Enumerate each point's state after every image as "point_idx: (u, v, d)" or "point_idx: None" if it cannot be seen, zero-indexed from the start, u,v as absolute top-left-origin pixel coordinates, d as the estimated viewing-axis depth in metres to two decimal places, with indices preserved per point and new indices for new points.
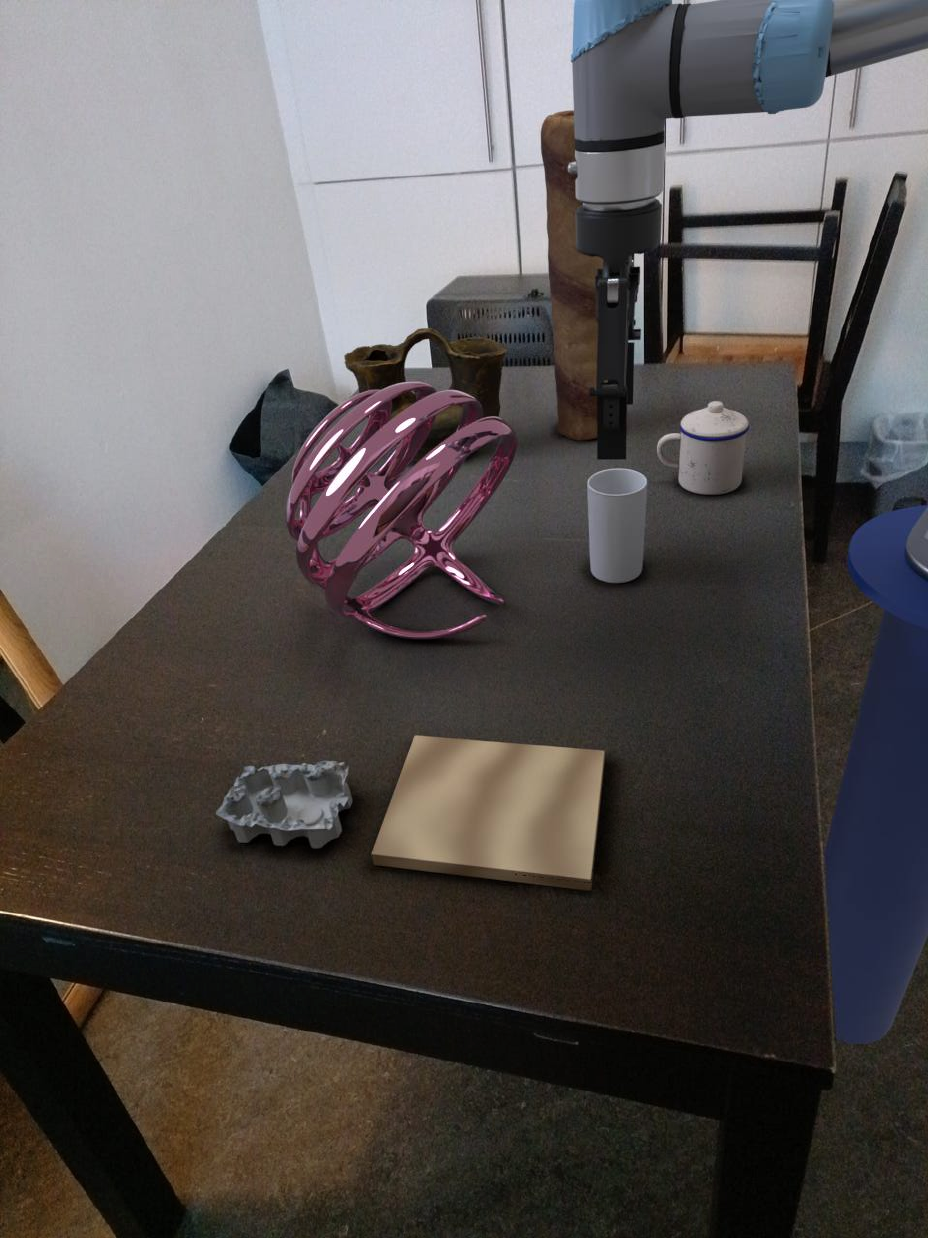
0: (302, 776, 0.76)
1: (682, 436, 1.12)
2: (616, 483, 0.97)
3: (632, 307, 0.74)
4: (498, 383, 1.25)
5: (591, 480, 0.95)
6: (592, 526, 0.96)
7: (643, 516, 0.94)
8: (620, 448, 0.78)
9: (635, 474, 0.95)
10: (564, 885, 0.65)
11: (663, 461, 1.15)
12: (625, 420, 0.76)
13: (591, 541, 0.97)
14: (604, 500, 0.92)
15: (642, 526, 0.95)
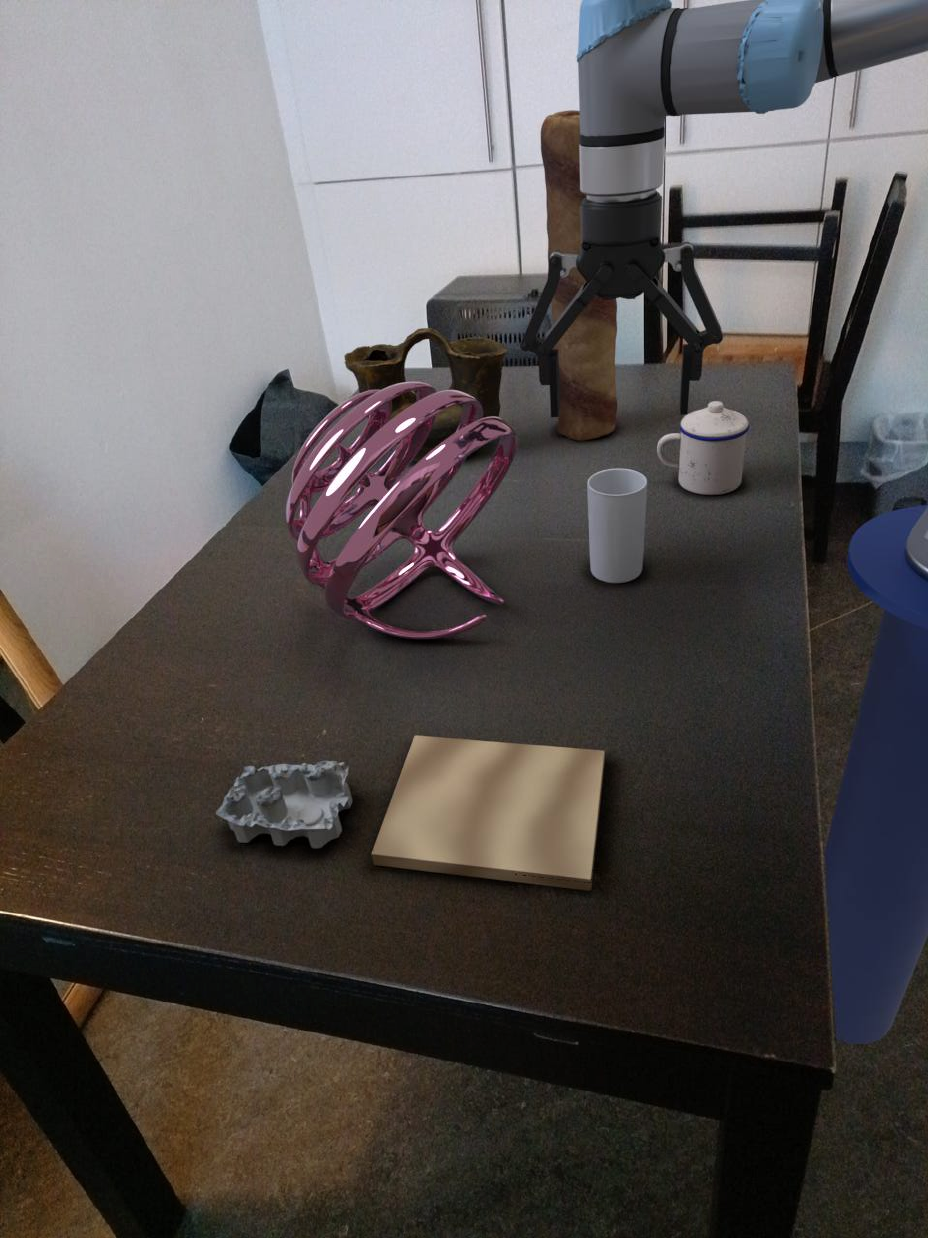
0: (302, 776, 0.76)
1: (682, 436, 1.12)
2: (616, 483, 0.97)
3: (582, 290, 0.81)
4: (498, 383, 1.25)
5: (591, 480, 0.95)
6: (592, 526, 0.96)
7: (643, 516, 0.94)
8: None
9: (635, 474, 0.95)
10: (564, 885, 0.65)
11: (663, 461, 1.15)
12: (549, 381, 0.87)
13: (591, 541, 0.97)
14: (604, 500, 0.92)
15: (642, 526, 0.95)
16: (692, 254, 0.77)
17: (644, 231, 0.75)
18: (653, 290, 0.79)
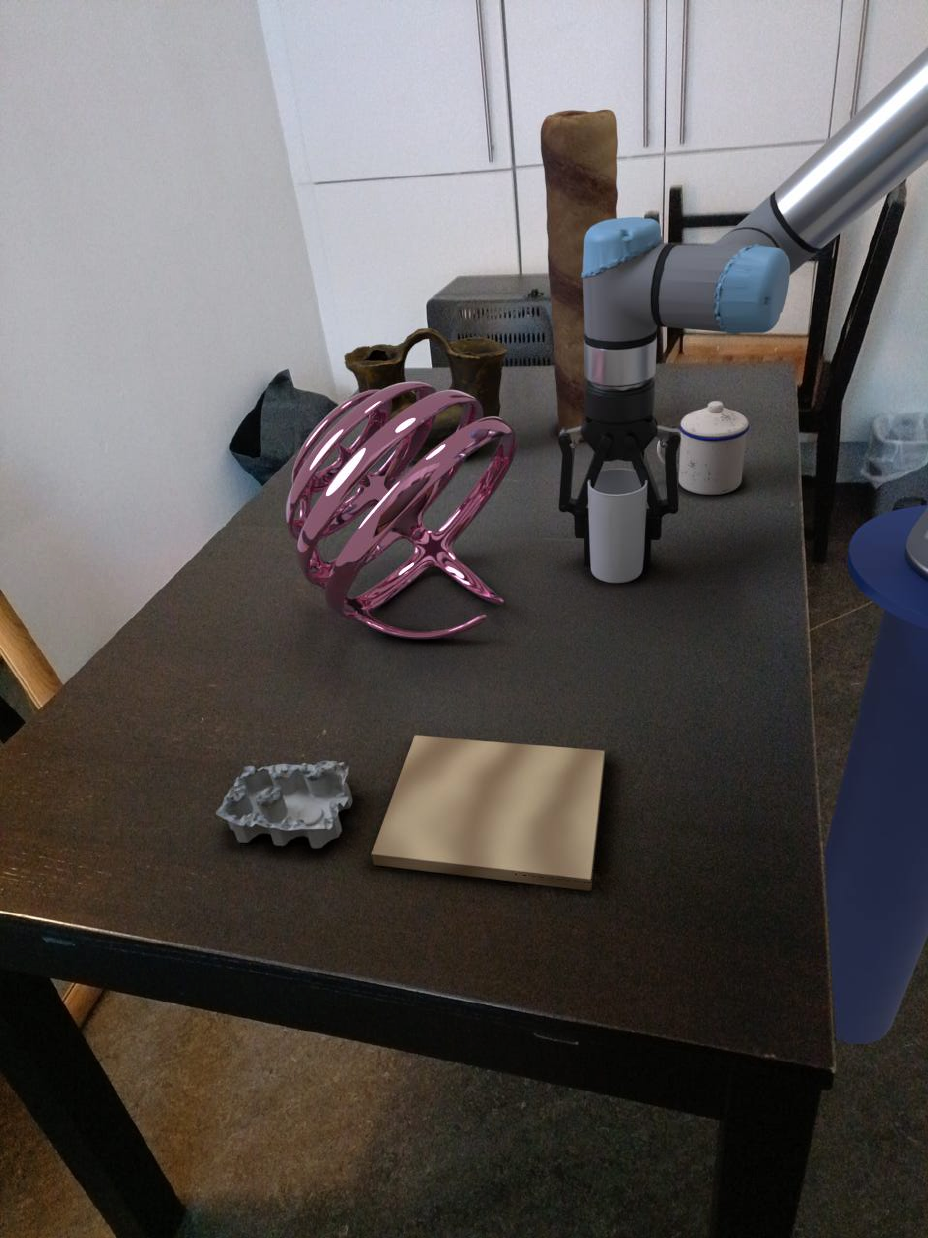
0: (302, 776, 0.76)
1: (682, 436, 1.12)
2: (616, 483, 0.97)
3: (593, 460, 0.93)
4: (498, 383, 1.25)
5: None
6: (593, 526, 0.96)
7: (643, 516, 0.94)
8: (584, 554, 1.01)
9: (635, 474, 0.95)
10: (564, 885, 0.65)
11: (663, 461, 1.15)
12: (584, 536, 0.99)
13: (591, 541, 0.97)
14: (604, 500, 0.92)
15: (642, 526, 0.95)
16: (679, 441, 0.90)
17: (639, 413, 0.87)
18: (639, 461, 0.92)
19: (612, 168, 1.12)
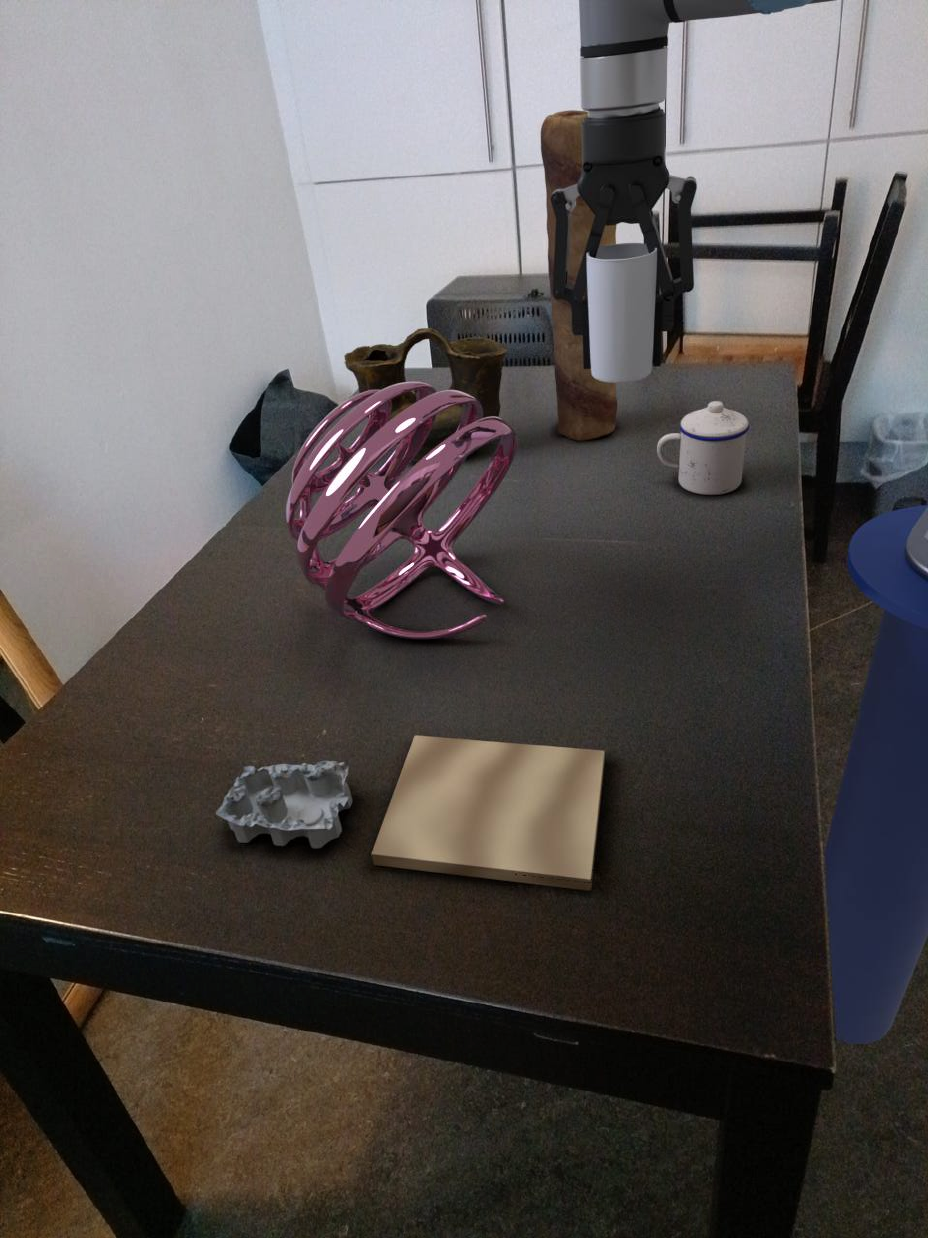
0: (302, 776, 0.76)
1: (682, 436, 1.12)
2: None
3: None
4: (498, 383, 1.25)
5: None
6: (593, 309, 0.81)
7: (653, 293, 0.80)
8: None
9: (643, 247, 0.81)
10: (564, 885, 0.65)
11: (663, 461, 1.15)
12: (582, 331, 0.85)
13: (592, 331, 0.83)
14: (606, 268, 0.78)
15: (652, 307, 0.81)
16: (694, 190, 0.75)
17: (646, 148, 0.73)
18: (647, 220, 0.77)
19: None
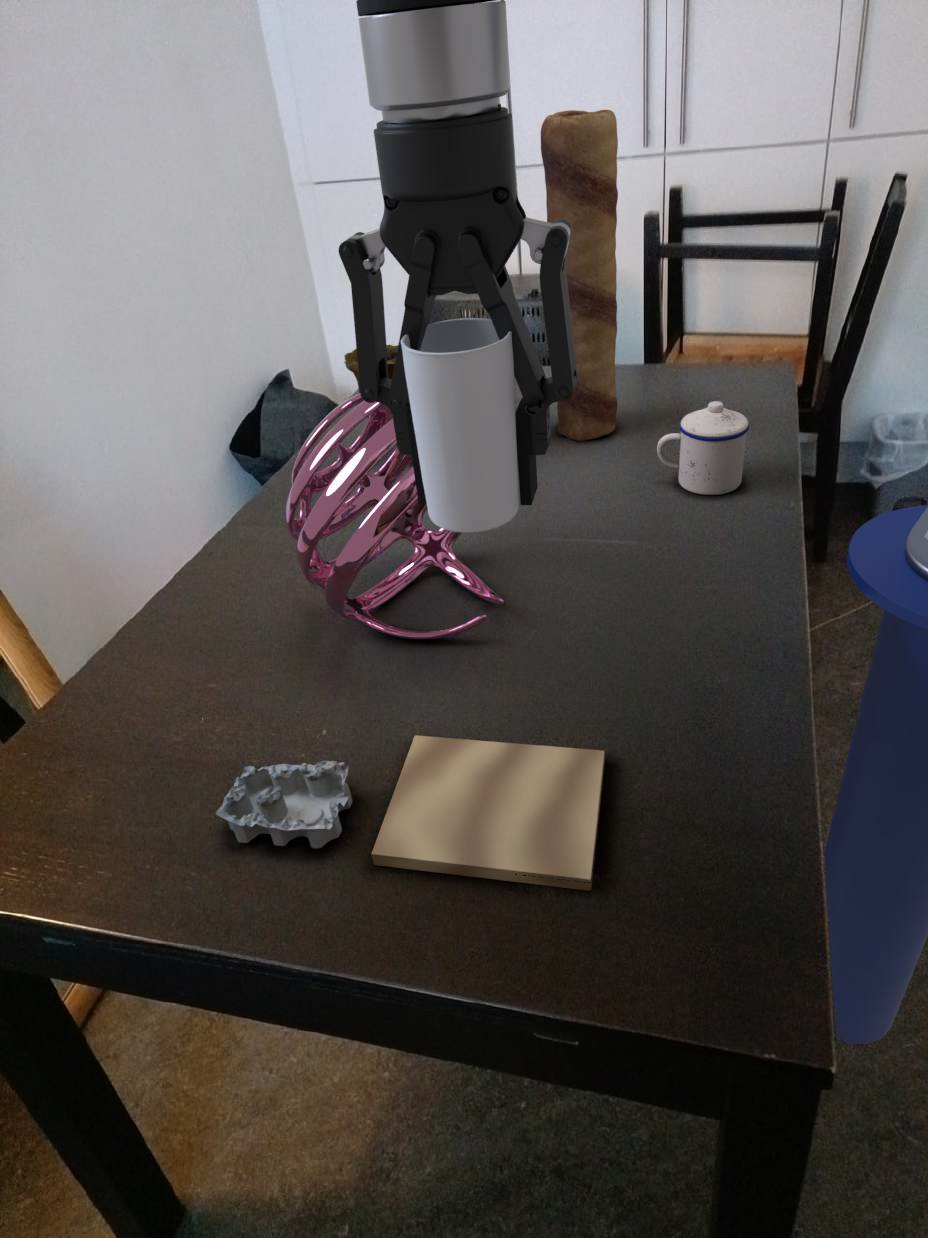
0: (302, 776, 0.76)
1: (682, 436, 1.12)
2: (465, 348, 0.53)
3: (407, 291, 0.49)
4: None
5: None
6: (416, 424, 0.51)
7: (507, 403, 0.50)
8: None
9: None
10: (564, 885, 0.65)
11: (663, 461, 1.15)
12: (411, 450, 0.55)
13: (419, 454, 0.53)
14: (425, 366, 0.48)
15: (507, 423, 0.51)
16: (564, 244, 0.45)
17: (475, 174, 0.43)
18: (491, 291, 0.47)
19: (612, 168, 1.12)
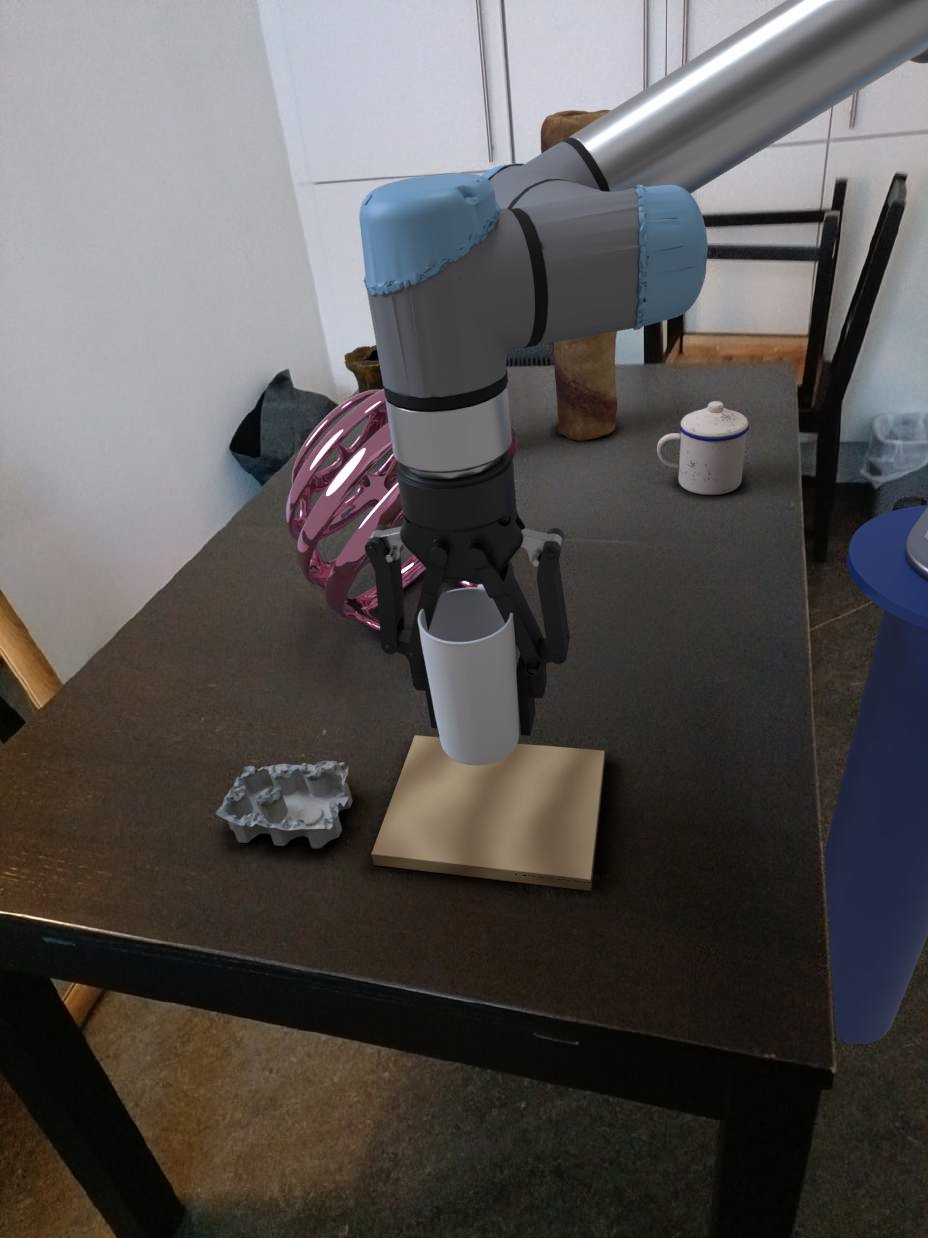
0: (302, 776, 0.76)
1: (682, 436, 1.12)
2: (472, 609, 0.61)
3: (423, 581, 0.57)
4: None
5: None
6: (431, 682, 0.59)
7: (509, 669, 0.58)
8: None
9: None
10: (564, 885, 0.65)
11: (663, 461, 1.15)
12: (425, 690, 0.63)
13: (433, 702, 0.61)
14: (440, 649, 0.56)
15: (509, 684, 0.59)
16: (557, 557, 0.54)
17: (482, 516, 0.51)
18: (495, 587, 0.55)
19: None
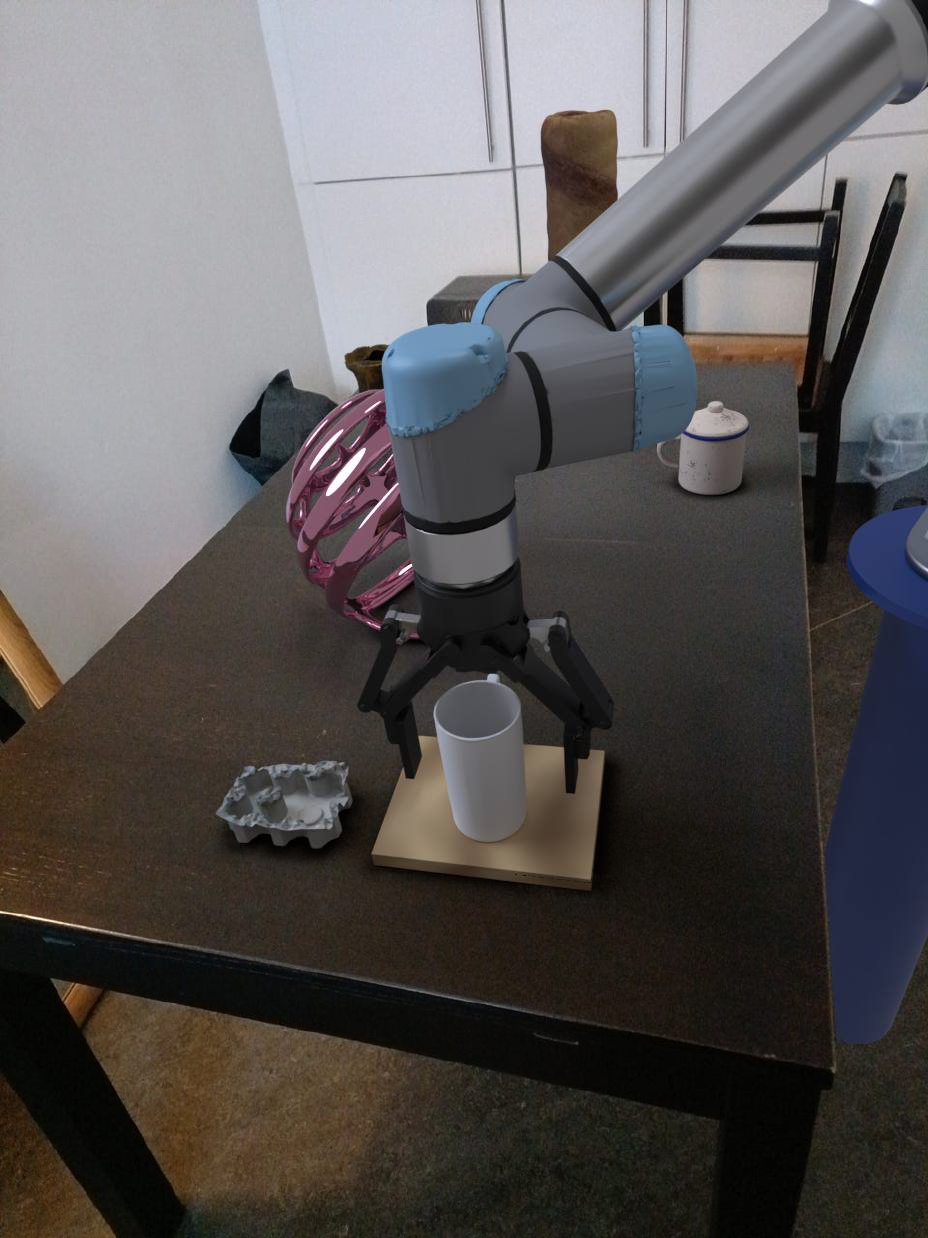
0: (302, 776, 0.76)
1: (682, 436, 1.12)
2: (483, 699, 0.66)
3: (426, 663, 0.61)
4: None
5: (442, 702, 0.64)
6: (445, 769, 0.65)
7: (518, 758, 0.63)
8: None
9: (507, 692, 0.64)
10: (564, 885, 0.65)
11: (663, 461, 1.15)
12: (399, 744, 0.68)
13: (447, 784, 0.66)
14: (454, 743, 0.61)
15: (517, 771, 0.64)
16: (563, 638, 0.58)
17: (493, 620, 0.56)
18: (516, 672, 0.60)
19: (612, 168, 1.12)
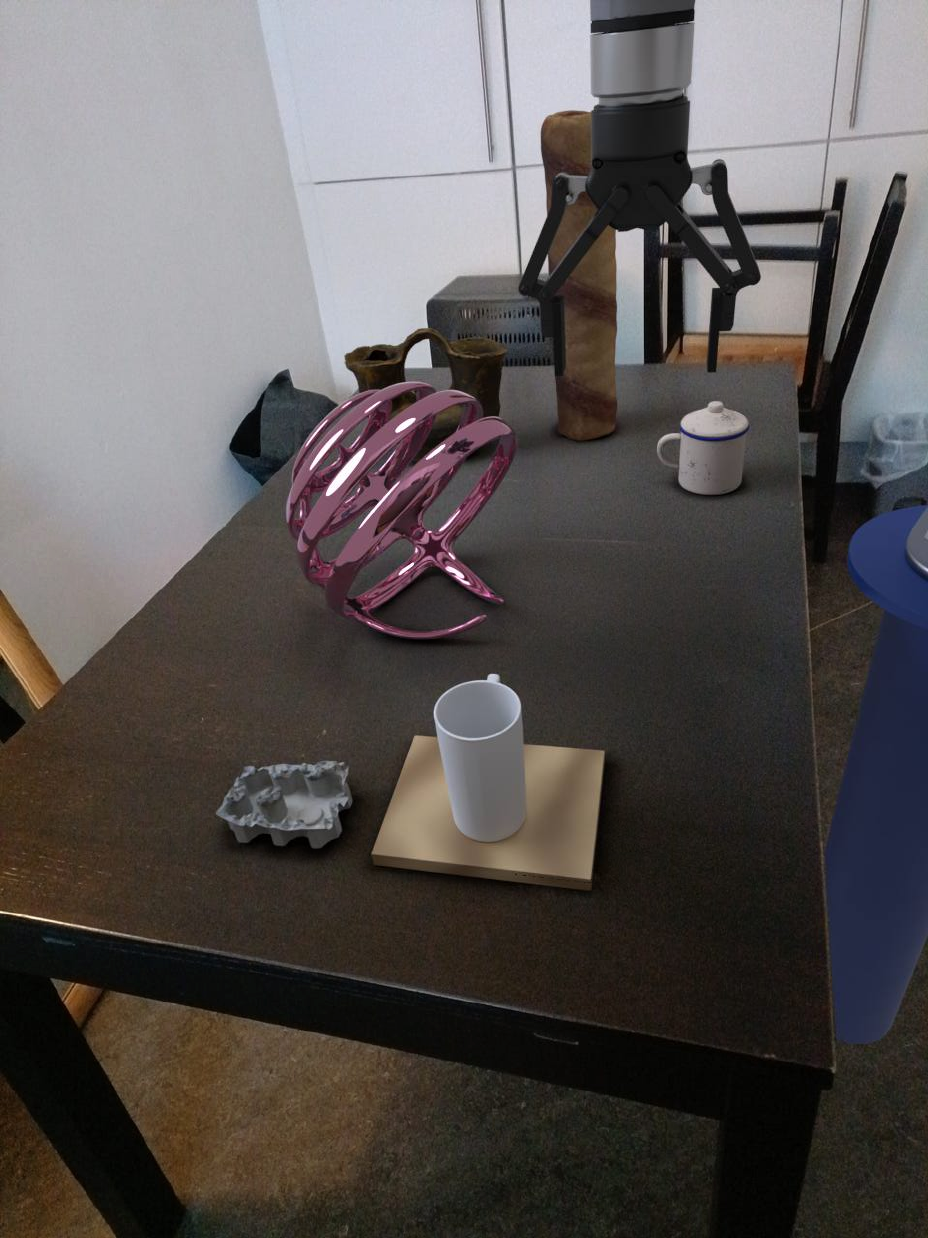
0: (302, 776, 0.76)
1: (682, 436, 1.12)
2: (483, 699, 0.66)
3: (593, 220, 0.67)
4: (498, 383, 1.25)
5: (442, 702, 0.64)
6: (445, 769, 0.65)
7: (518, 758, 0.63)
8: None
9: (507, 692, 0.64)
10: (564, 885, 0.65)
11: (663, 461, 1.15)
12: (553, 332, 0.74)
13: (447, 784, 0.66)
14: (454, 743, 0.61)
15: (517, 771, 0.64)
16: (725, 172, 0.64)
17: (667, 141, 0.62)
18: (677, 218, 0.66)
19: None
